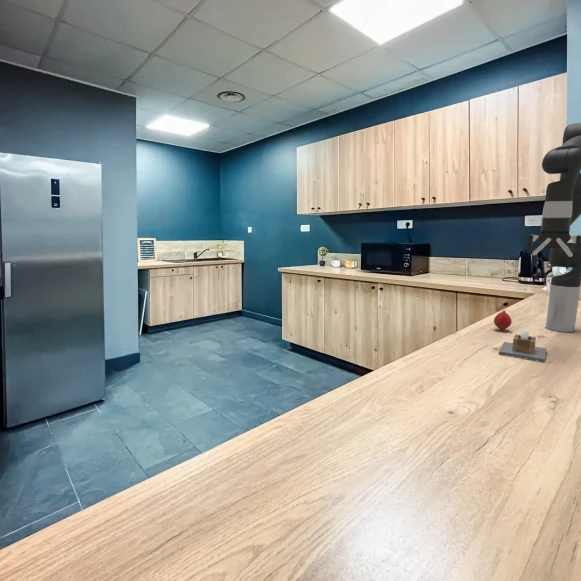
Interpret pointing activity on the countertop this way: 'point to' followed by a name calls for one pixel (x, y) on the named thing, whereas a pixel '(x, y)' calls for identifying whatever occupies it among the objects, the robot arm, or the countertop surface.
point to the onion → (502, 320)
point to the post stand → (507, 350)
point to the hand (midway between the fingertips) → (550, 267)
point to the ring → (524, 344)
